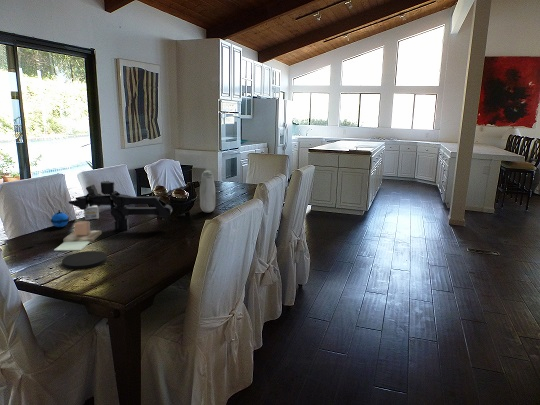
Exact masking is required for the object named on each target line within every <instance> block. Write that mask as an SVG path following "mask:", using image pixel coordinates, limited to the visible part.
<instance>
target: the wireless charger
mask: <svg viewBox="0 0 540 405" xmlns="http://www.w3.org/2000/svg"><path fill="white" fill-rule="evenodd" d="M61 260H62V261H61V263H62V267H63V268H64V269H67V270H74V271H75V270H78V271H80V270H88V269H93V268H97V267H100V266H102V265H104V264H105V263H107V261H108V254H107V253H105V252H103V251H99V250H87V251H80V252H75V253H72V254H69V255H66V256H65V257H64V258H62V259H61Z"/></svg>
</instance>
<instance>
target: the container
mask: <svg viewBox="0 0 540 405" xmlns="http://www.w3.org/2000/svg"><path fill="white" fill-rule="evenodd" d="M83 212H84V213H83V215H84V221H89V220H96V219H100V214H99V206H89V204H88V208H86V209H85V210H83Z"/></svg>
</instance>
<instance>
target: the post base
mask: <svg viewBox="0 0 540 405" xmlns="http://www.w3.org/2000/svg"><path fill="white" fill-rule="evenodd" d="M90 231H91V232H90V233H89V234H88V235H75V230H74V231H72V232H71V233H69V234H68V235H67V236H65V237H64V238H63V243H64V242H75V241H90V243H93V242H94V241H95V240H96V239H97V238H98V237H99V236H100V235H102V234H103V233H102V232H103V231H102V230H90Z"/></svg>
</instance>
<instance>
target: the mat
mask: <svg viewBox="0 0 540 405" xmlns="http://www.w3.org/2000/svg"><path fill="white" fill-rule="evenodd" d="M90 243H91V242H90V241H75V242H64V241H63V242H62V243H61V244H60V245H59V246H57V247H56V248H54V249H53V251H54V252H64V251H65V252H72V251H73V252H77V251H80V252H82V250H83V249H84V248H85V247H87V246H88V245H89V244H90Z"/></svg>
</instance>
